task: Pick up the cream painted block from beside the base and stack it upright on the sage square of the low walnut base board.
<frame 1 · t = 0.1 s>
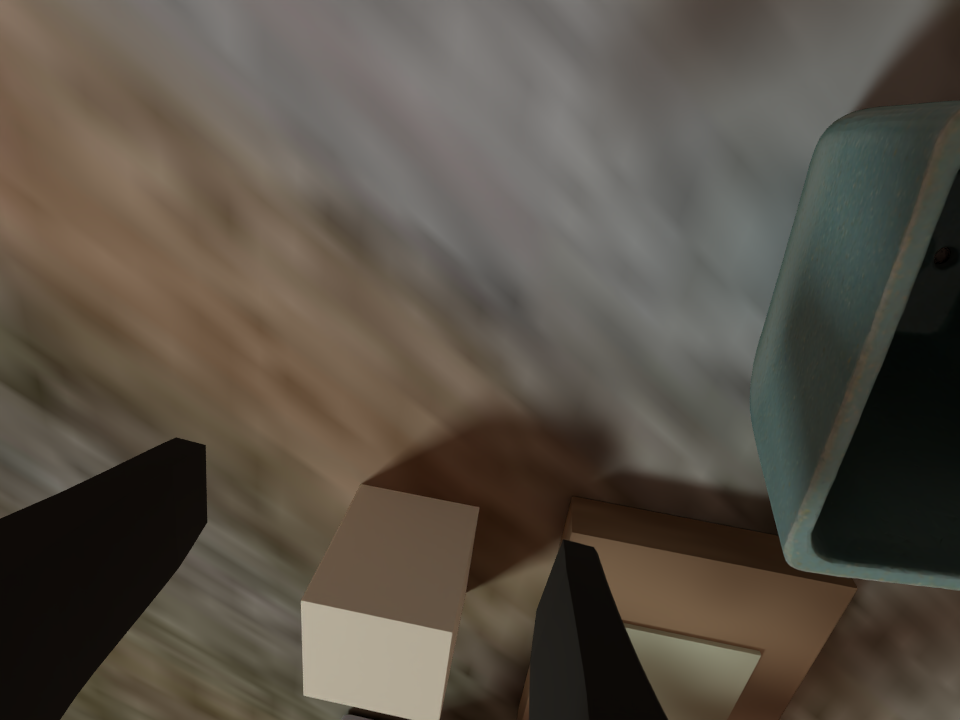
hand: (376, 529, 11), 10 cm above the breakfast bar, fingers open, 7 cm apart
walnut base: (654, 640, 26), on the breakfast bar
cream block: (415, 539, 25), on the breakfast bar
flower pot: (877, 251, 17), on the breakfast bar
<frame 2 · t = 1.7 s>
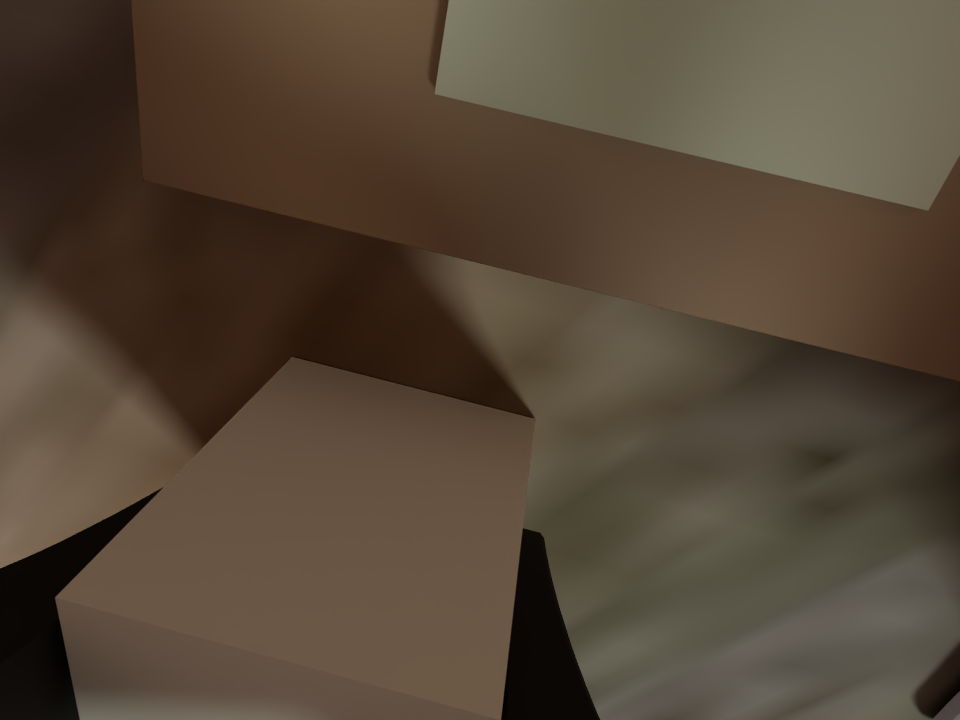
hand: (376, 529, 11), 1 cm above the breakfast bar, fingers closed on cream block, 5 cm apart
cream block: (395, 483, 13), on the breakfast bar, touching gripper
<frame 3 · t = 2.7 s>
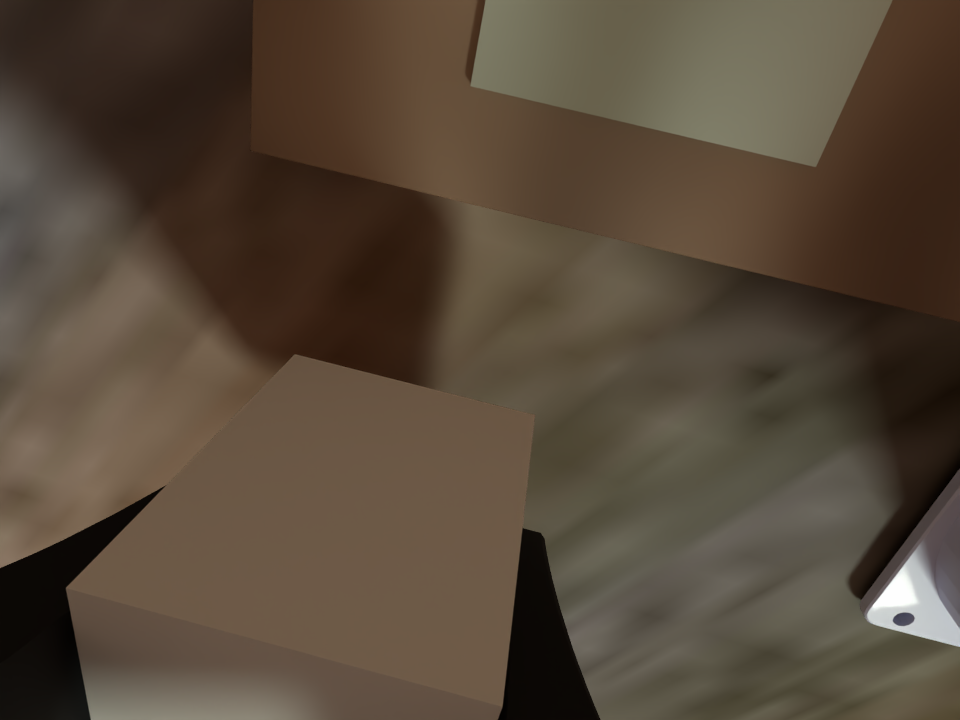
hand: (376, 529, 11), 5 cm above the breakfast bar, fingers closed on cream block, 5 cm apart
cream block: (397, 479, 13), point 3 cm above the breakfast bar, touching gripper
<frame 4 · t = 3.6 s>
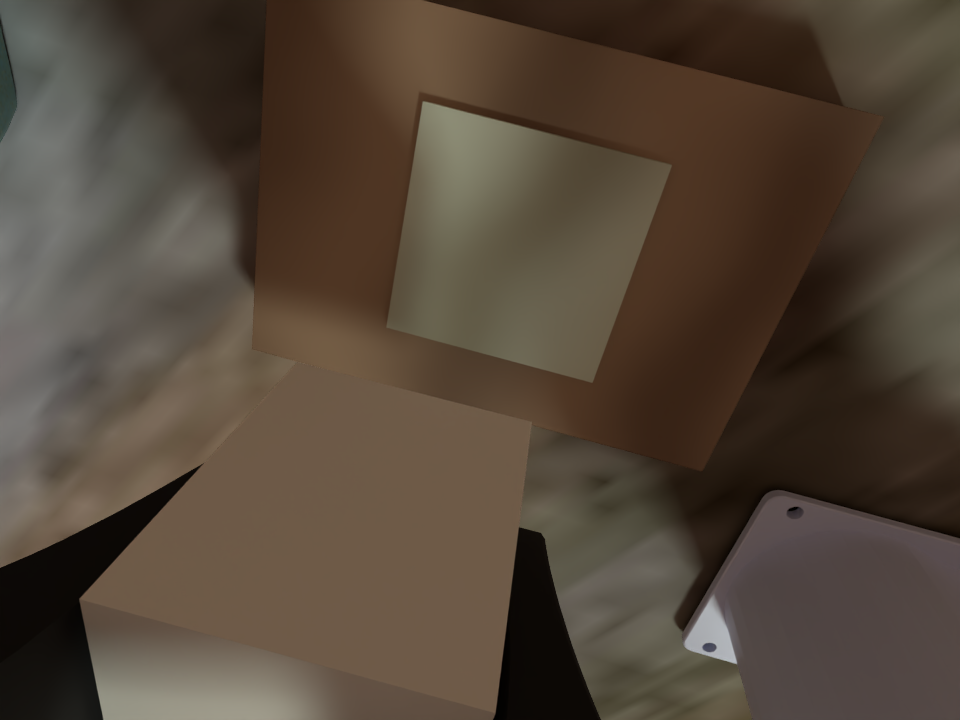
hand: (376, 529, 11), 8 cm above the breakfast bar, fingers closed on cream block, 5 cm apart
walnut base: (521, 233, 17), on the breakfast bar
cream block: (397, 483, 13), point 7 cm above the breakfast bar, touching gripper
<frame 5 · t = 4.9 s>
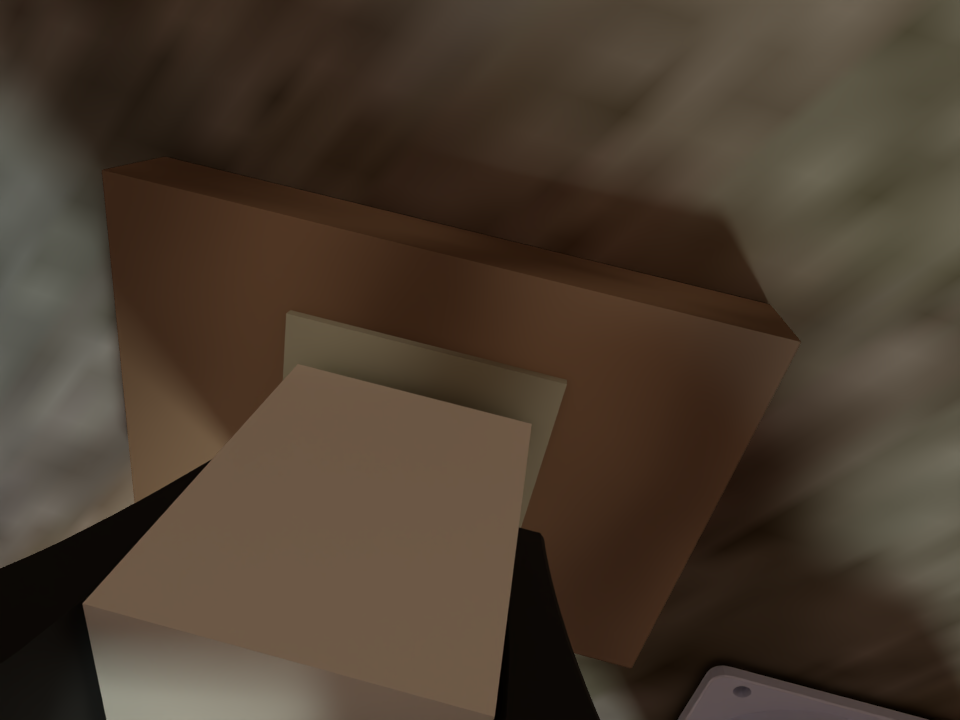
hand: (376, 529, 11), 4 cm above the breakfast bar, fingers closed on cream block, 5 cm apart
walnut base: (426, 412, 15), on the breakfast bar
cream block: (398, 484, 13), point 3 cm above the breakfast bar, touching gripper
when the fingers open (4 cm above the breakfast bar, at t = 5.5 s): cream block stays where it is, resting on walnut base.
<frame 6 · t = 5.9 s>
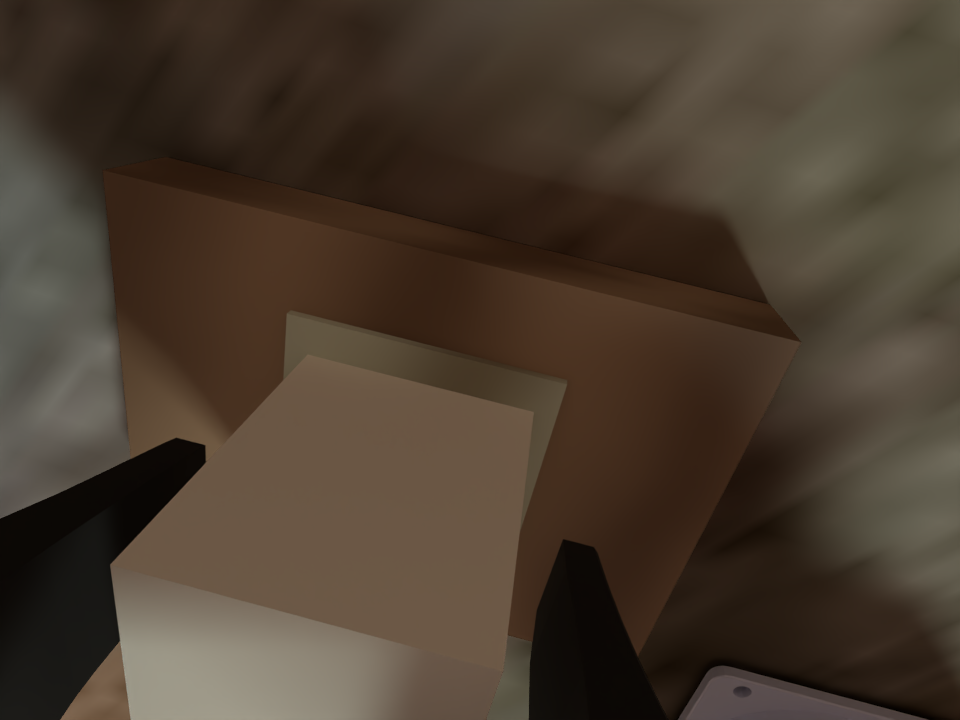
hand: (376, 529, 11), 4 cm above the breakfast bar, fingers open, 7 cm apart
walnut base: (426, 412, 15), on the breakfast bar
cream block: (403, 473, 14), point 2 cm above the breakfast bar, touching walnut base
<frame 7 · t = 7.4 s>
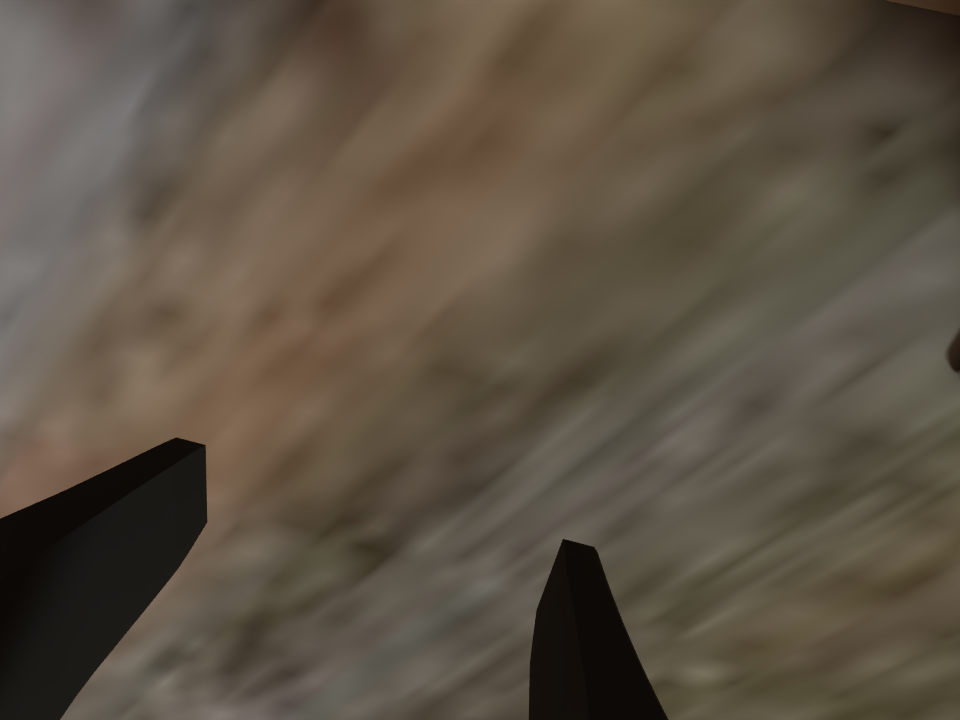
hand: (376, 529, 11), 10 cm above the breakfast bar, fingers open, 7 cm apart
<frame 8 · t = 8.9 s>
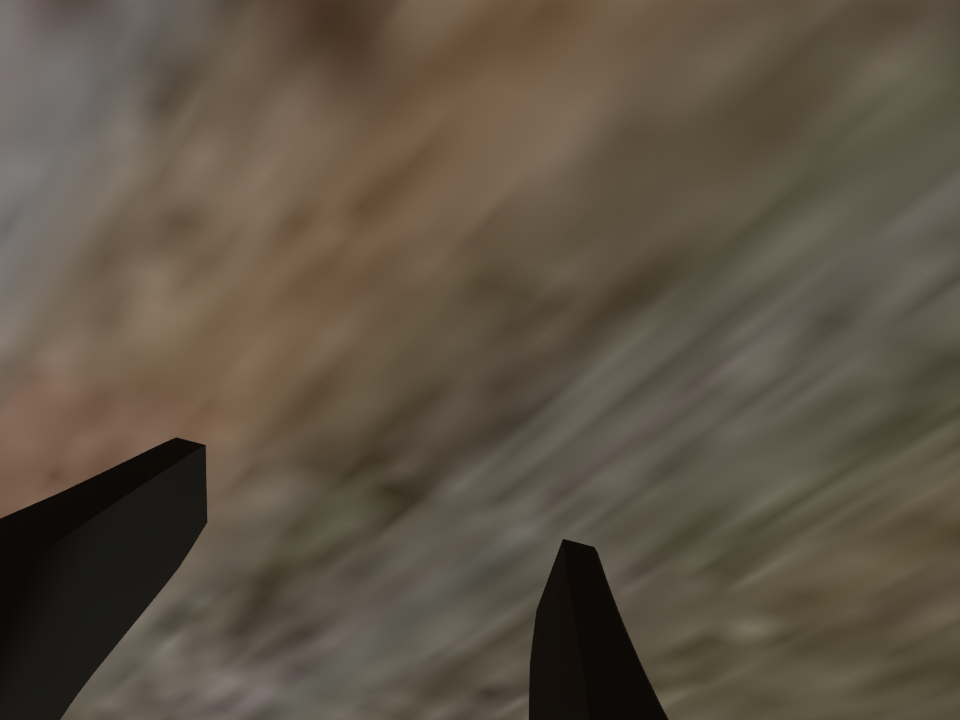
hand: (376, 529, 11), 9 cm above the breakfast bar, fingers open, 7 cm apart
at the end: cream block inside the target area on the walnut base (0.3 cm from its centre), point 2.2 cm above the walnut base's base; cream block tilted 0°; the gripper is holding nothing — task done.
